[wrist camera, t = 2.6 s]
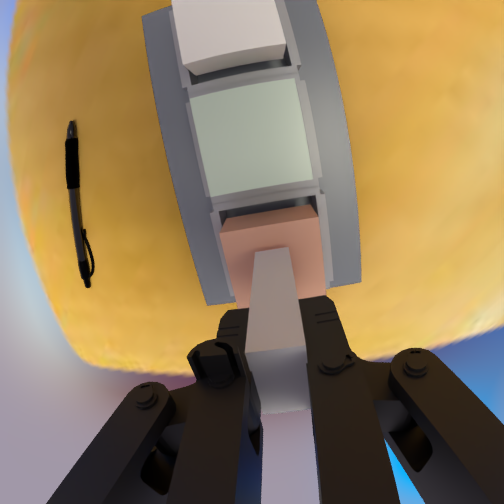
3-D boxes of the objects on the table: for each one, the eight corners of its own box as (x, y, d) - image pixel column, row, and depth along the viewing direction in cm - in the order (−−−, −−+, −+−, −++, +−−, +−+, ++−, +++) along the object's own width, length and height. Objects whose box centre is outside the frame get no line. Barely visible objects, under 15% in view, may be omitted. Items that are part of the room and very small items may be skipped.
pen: (100, 283, 23) (97, 290, 22) (84, 284, 22) (81, 290, 21) (86, 119, 17) (81, 118, 16) (68, 122, 17) (62, 121, 16)
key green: (201, 105, 13) (189, 98, 11) (289, 88, 12) (294, 78, 10) (219, 187, 15) (210, 197, 12) (305, 172, 14) (313, 179, 12)
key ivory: (183, 9, 11) (169, -9, 8) (265, -8, 10) (264, -30, 8) (195, 75, 12) (182, 64, 10) (283, 58, 12) (286, 43, 10)
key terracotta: (226, 218, 15) (219, 233, 13) (310, 204, 15) (318, 216, 12) (243, 291, 17) (239, 315, 15) (319, 279, 16) (326, 302, 14)
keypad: (149, 23, 14) (129, 5, 11) (306, -10, 13) (313, -34, 9) (210, 295, 22) (201, 321, 18) (355, 272, 20) (370, 296, 17)
